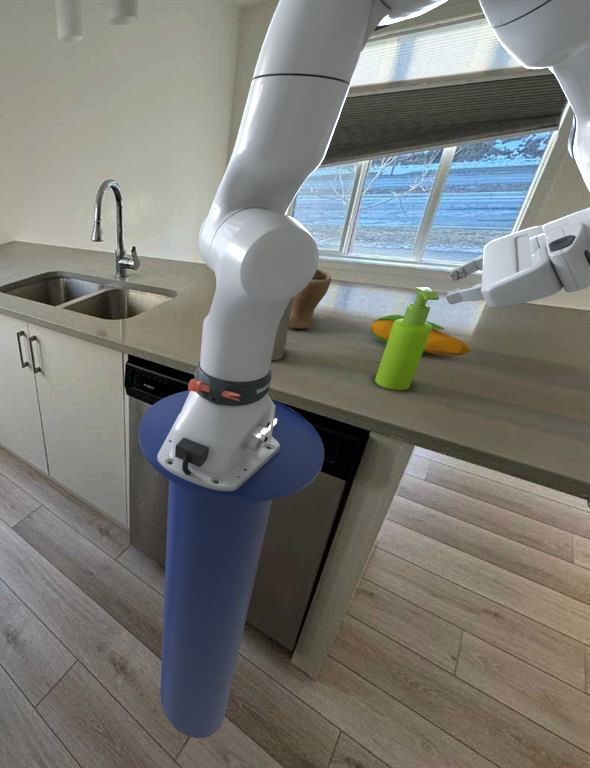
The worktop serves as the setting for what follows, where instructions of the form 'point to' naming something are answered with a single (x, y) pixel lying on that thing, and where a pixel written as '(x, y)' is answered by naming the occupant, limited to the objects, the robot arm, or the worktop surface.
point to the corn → (434, 344)
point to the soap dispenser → (406, 343)
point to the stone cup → (309, 300)
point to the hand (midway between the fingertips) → (449, 287)
